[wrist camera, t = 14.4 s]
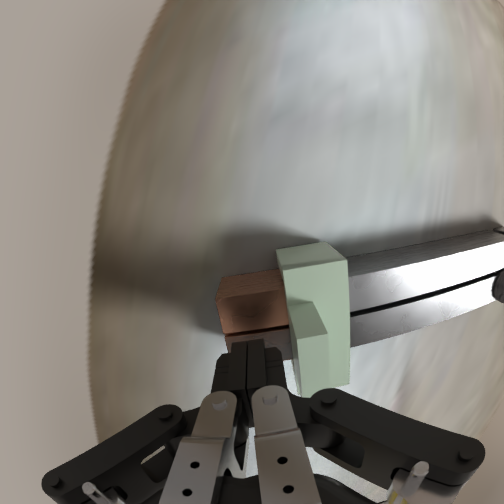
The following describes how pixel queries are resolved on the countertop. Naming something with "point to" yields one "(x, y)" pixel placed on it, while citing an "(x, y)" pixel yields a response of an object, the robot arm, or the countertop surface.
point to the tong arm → (395, 314)
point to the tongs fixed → (366, 279)
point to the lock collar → (317, 315)
